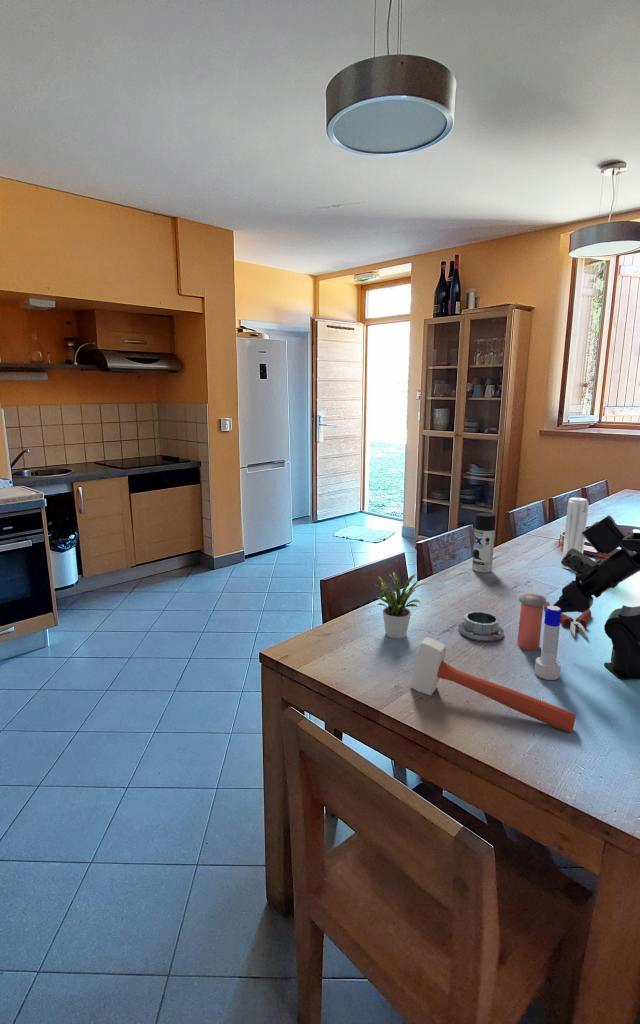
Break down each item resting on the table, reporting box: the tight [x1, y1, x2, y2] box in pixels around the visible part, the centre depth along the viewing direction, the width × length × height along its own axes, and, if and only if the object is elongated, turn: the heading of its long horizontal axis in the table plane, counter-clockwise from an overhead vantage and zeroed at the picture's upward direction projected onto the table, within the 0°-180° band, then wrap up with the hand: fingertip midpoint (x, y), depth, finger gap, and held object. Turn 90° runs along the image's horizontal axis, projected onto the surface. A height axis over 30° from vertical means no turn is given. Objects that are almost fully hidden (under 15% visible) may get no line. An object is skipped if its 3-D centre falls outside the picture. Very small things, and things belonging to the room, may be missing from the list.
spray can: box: [471, 512, 496, 574], centre depth 185 cm, size 7×7×20 cm
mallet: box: [409, 636, 577, 734], centre depth 104 cm, size 11×4×30 cm
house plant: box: [376, 571, 429, 640], centre depth 135 cm, size 14×14×16 cm
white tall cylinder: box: [561, 497, 590, 571], centre depth 187 cm, size 6×6×25 cm
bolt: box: [534, 605, 562, 681], centre depth 115 cm, size 16×5×5 cm
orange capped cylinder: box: [516, 592, 547, 651], centre depth 129 cm, size 6×6×12 cm
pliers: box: [543, 601, 592, 639], centre depth 143 cm, size 12×21×3 cm, turn 166°
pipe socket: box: [457, 610, 505, 643], centre depth 137 cm, size 11×11×4 cm
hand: (555, 605), depth 125 cm, fingers open, 9 cm apart
